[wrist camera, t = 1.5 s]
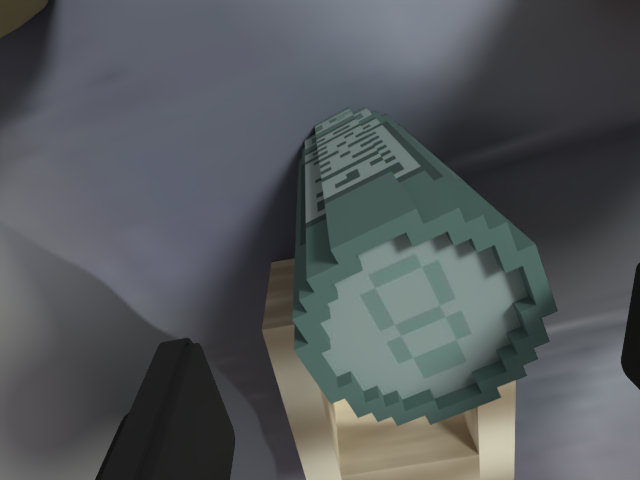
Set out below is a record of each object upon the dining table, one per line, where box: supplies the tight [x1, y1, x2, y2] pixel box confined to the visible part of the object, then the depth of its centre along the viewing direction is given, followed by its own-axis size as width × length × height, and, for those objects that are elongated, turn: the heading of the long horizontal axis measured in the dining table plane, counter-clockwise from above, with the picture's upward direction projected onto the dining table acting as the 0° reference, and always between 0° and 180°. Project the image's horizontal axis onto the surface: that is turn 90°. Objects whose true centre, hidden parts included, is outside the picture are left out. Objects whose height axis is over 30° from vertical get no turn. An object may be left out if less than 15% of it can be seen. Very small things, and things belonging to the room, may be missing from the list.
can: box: [292, 107, 558, 426], centre depth 17 cm, size 6×6×15 cm
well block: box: [262, 258, 516, 480], centre depth 26 cm, size 14×12×7 cm
